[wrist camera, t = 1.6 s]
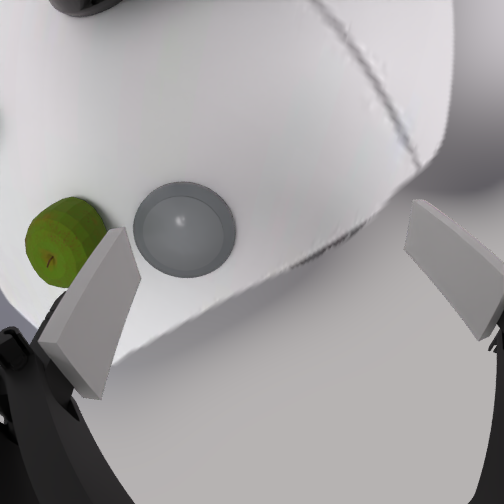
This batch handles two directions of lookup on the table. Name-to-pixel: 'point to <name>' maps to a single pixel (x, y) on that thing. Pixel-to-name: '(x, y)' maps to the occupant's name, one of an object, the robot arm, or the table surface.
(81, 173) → the table surface
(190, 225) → the slate plate
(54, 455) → the robot arm
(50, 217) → the apple
